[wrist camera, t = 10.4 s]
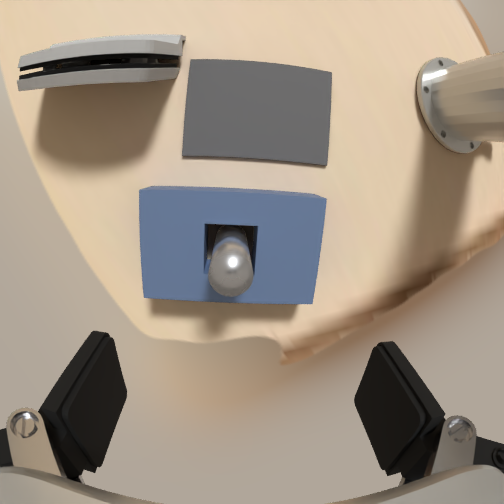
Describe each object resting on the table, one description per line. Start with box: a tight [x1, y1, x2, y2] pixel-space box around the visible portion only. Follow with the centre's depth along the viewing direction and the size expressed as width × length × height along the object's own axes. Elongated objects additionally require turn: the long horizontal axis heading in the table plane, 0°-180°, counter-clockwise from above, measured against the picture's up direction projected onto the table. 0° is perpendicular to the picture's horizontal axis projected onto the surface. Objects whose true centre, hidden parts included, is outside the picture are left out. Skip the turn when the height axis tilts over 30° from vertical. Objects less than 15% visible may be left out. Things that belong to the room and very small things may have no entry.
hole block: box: [139, 186, 327, 304], centre depth 27 cm, size 16×10×4 cm, turn 86°
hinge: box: [17, 34, 186, 91], centre depth 18 cm, size 17×5×10 cm, turn 79°
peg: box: [208, 224, 253, 297], centre depth 24 cm, size 3×3×10 cm
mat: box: [182, 59, 332, 165], centre depth 25 cm, size 14×10×1 cm
